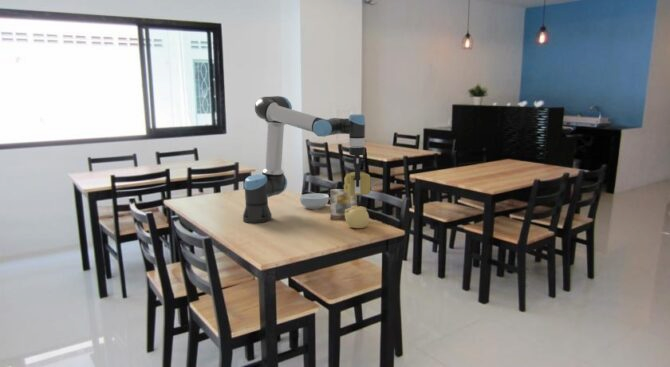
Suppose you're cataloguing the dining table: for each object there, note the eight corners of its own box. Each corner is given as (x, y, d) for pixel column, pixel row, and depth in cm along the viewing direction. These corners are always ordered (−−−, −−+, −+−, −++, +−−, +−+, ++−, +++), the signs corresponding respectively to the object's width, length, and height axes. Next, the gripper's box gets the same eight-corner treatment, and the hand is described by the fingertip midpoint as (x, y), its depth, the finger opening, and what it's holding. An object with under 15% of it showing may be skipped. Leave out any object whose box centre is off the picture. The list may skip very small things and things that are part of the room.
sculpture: (362, 222, 240) (362, 202, 237) (372, 228, 229) (372, 207, 226) (342, 225, 236) (342, 204, 233) (351, 231, 225) (351, 210, 222)
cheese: (343, 191, 232) (343, 172, 230) (363, 190, 235) (363, 170, 233) (350, 196, 222) (350, 175, 220) (371, 194, 225) (371, 174, 223)
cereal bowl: (330, 204, 279) (330, 192, 278) (327, 211, 263) (327, 199, 262) (302, 204, 281) (302, 192, 279) (297, 211, 265) (297, 198, 263)
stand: (330, 219, 245) (330, 191, 242) (330, 216, 251) (330, 188, 248) (356, 219, 245) (356, 191, 242) (356, 216, 251) (356, 188, 248)
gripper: (365, 149, 212) (365, 195, 216) (364, 143, 236) (364, 185, 240) (349, 149, 213) (349, 195, 217) (349, 144, 236) (349, 185, 240)
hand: (357, 190), depth 228 cm, fingers closed on cheese, 12 cm apart
